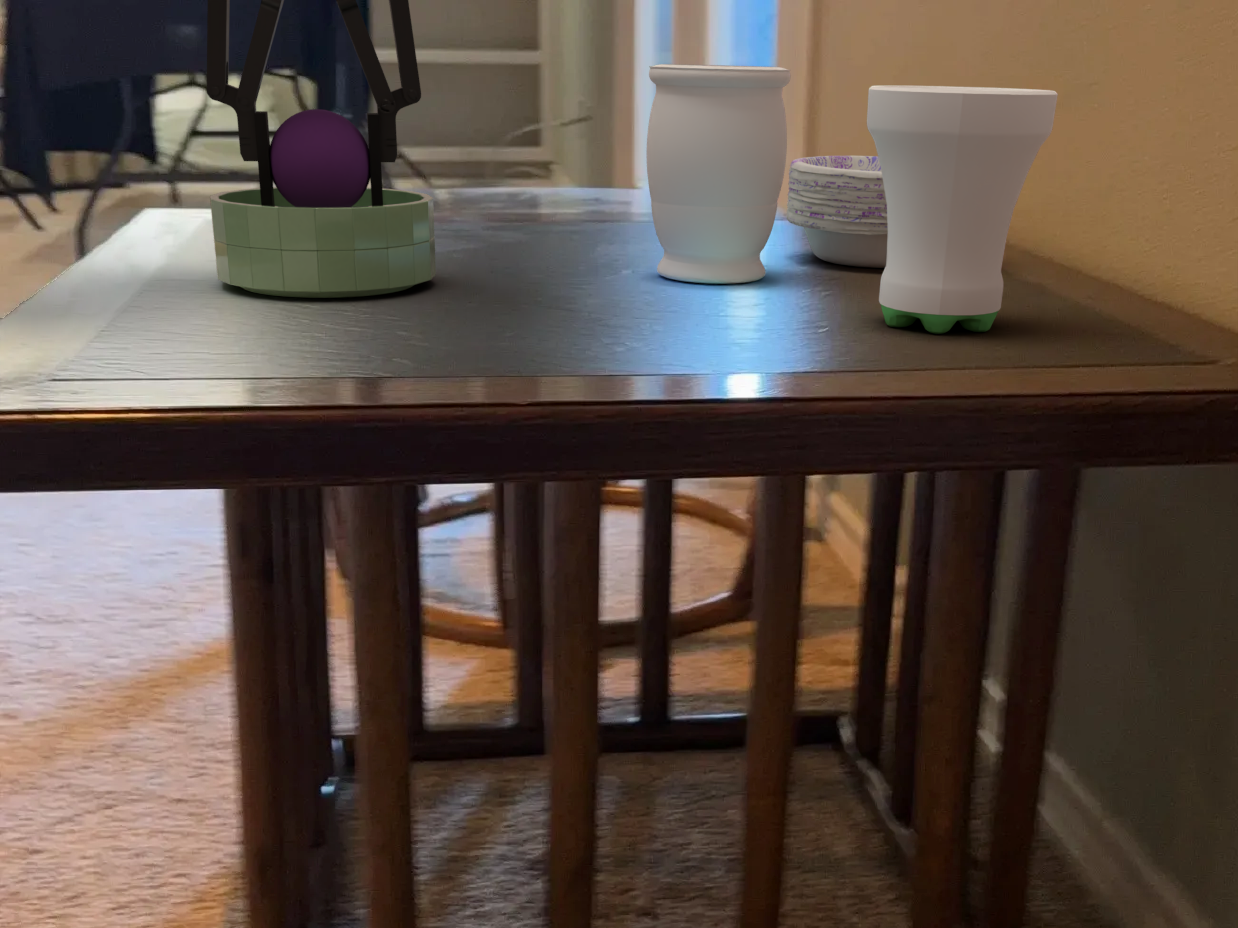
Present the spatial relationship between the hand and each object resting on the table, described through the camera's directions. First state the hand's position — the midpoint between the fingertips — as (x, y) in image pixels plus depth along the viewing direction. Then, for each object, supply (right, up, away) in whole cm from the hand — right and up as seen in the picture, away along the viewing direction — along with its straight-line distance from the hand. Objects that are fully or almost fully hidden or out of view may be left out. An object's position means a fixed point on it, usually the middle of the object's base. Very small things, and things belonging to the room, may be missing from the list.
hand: (323, 210), depth 97 cm
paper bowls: (+42, +1, +19) cm, 46 cm away
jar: (+28, -3, +9) cm, 29 cm away
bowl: (0, -5, +2) cm, 5 cm away
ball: (0, 0, 0) cm, 0 cm away
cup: (+42, -10, -8) cm, 43 cm away
